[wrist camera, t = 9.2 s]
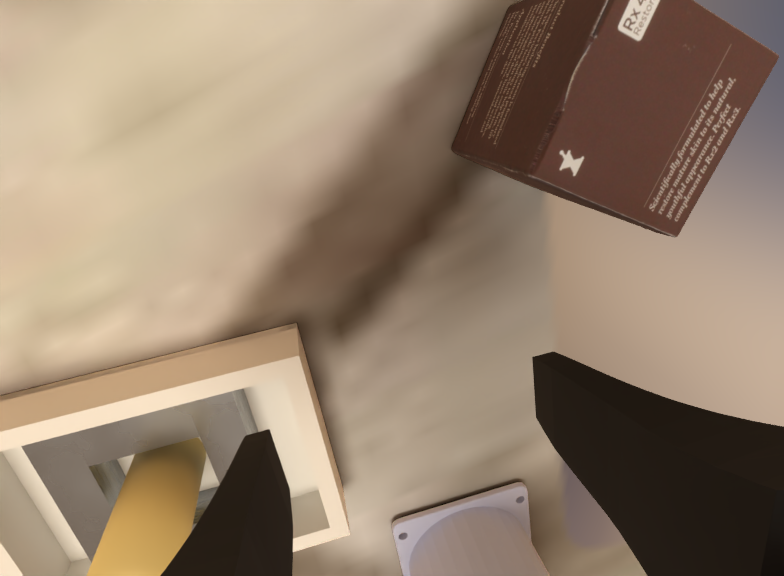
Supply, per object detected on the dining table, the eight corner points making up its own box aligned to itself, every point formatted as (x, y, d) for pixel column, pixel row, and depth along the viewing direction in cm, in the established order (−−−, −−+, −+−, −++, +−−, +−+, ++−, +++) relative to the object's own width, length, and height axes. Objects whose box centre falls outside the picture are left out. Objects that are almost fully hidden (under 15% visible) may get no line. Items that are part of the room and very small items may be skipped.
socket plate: (281, 497, 25) (281, 529, 23) (117, 545, 24) (103, 583, 22) (234, 364, 22) (230, 389, 20) (42, 413, 21) (19, 444, 19)
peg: (212, 474, 23) (188, 616, 17) (146, 488, 23) (95, 640, 17) (197, 422, 22) (165, 554, 16) (127, 436, 22) (64, 578, 15)
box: (559, 199, 23) (677, 245, 16) (445, 150, 21) (524, 179, 14) (626, 65, 21) (788, 54, 14) (509, -2, 19) (632, -50, 12)
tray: (343, 488, 26) (350, 534, 23) (65, 569, 24) (38, 630, 22) (296, 322, 22) (299, 355, 19) (-40, 405, 20) (-90, 454, 18)
